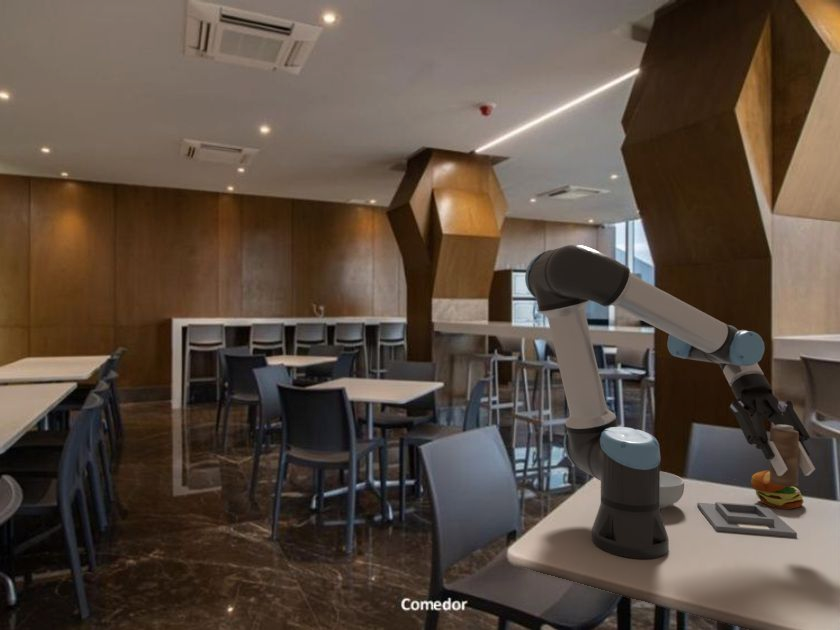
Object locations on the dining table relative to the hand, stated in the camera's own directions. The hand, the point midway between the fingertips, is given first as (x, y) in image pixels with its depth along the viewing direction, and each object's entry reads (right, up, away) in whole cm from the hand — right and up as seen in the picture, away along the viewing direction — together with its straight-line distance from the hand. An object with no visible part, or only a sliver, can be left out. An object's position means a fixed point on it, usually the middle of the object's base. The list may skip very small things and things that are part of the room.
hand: (796, 472), depth 113 cm
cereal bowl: (-19, -16, +28) cm, 38 cm away
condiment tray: (-1, -16, +17) cm, 23 cm away
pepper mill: (0, -3, +4) cm, 5 cm away
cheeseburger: (+15, -17, +29) cm, 36 cm away
